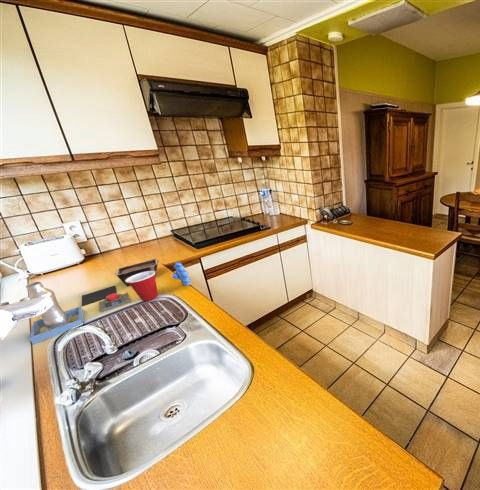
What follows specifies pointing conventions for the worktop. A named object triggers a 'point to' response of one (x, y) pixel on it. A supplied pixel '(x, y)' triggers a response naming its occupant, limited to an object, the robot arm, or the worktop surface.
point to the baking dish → (136, 269)
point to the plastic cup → (144, 285)
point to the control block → (114, 302)
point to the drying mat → (97, 295)
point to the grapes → (181, 274)
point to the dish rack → (39, 337)
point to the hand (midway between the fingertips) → (16, 302)
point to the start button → (112, 296)
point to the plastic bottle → (53, 314)
